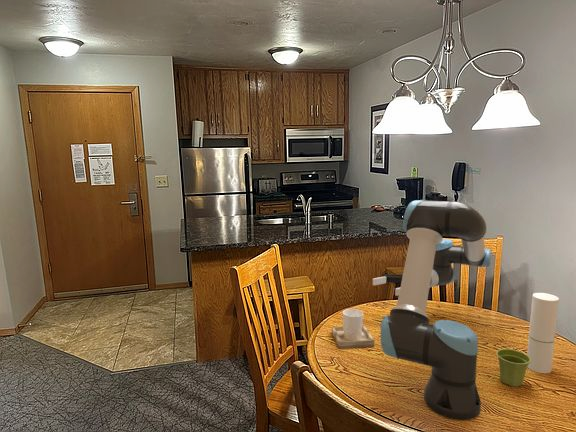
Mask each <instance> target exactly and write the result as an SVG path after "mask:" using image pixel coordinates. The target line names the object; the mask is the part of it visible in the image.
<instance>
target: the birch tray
mask: <svg viewBox="0 0 576 432" xmlns="http://www.w3.org/2000/svg"><path fill="white" fill-rule="evenodd" d="M331 333H332V336H333V338H334V340H335V342H336V345H337V346H338V348H339V350H344V349H358V348H369V347H370V348H371V347H375V339H374V338H373V336H372V335H371V333H370V332H369V330H368V329H367V327H366V325H365V324H363V325H362V334H361V339H360V340H354V341H351V340H347V339H345V338H344V330H343V325H342V326H341V325H339V326H331Z"/></svg>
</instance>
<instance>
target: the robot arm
mask: <svg viewBox="0 0 576 432" xmlns="http://www.w3.org/2000/svg"><path fill="white" fill-rule="evenodd" d="M402 227H403V228H402V229H403V232H405V233H406V237H407V238H408V239H409V243H408V247H407V252H406V253H407V254H406V258H405V263H404V268H403V273H393V274H391V273H389V274H386V273H385V274H382V276H381V277H379V276H378V277H375V278H372V286H379V285H383V284H384V285H385V284H387V283H392V284H393V283H394V284H400V287H396V288H395V291H394V295H395V296H396V297H397V298H398V299H397V303H396V305H395V306H393V308H391V309H390V312H389V315H388V314H387V315H384V316H383V317H382V320H381V322H380V323H381V324H380V344H381V345H380V346H381V350H382V352H383V353H384V354H385V355H386V356H388V357H392V358H395V359H396V360H403V361H406V362H412V363H415V364H419V365H423V366H427V367H431V375H430V377H429V379H428V381H427V383H426V386H425V388H424V391H423V400H424V403H425V405H426V406H427V407H428V408H429V409H430V410H431V411H432V412H434V413H435V414H437V415H439V416H441V417H444V418H447V419H449V420H450V419H451V420H455V421H469V420H472V419H475V418H477V417H478V416H479V415H480V413H481V408H482V402H481V397H480V395H479V391H478V387H477V383H476V380H477V377H476V376H477V362H478V361H477V360H478V353H479V348H478V346H479V343H478V342H479V338H478V335H477V333H476V332H475V331H474V330H473V329H472V328H470V327H469V326H467V325H466V324H463V323H460V322H458V321H455V320H450V319H445V320H444V319H440V320H439V319H438V320H436V321H435V322H434V323H433V324H430V318H429V316H428V315H427V313H426V310H427V305H428V297H429V291H430V288H433V287H439V286H446V285H449V284H452V283H454V282H455V281H456V279H457V277H458V276H457V272H456V269H455V268H454V267H453V266H452V264H456V265H465V266H471V267H479V268H489V267H491V261H492V260H491V259H492V250H491V249H489V248H486V247H485V235H486V233H487V223H486V220H485V219H484V217H483V215H481V214H480V212H478V210H476V209H475V208H473V206H470V205H469V204H466V203H464V202H463V203H462V202H459V201H446V200H445V201H443V200H427V199H420V200H419V199H418V200H417V199H416V200H412V201H411V202H409V203H408V205H407V207H406V209H405V211H404V215H403V221H402ZM444 237H453V238H454V237H455V238H460V240H461V245H456V244H454V243H453V240H451V239H447V238H444Z"/></svg>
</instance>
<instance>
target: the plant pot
mask: <svg viewBox="0 0 576 432" xmlns="http://www.w3.org/2000/svg"><path fill="white" fill-rule="evenodd" d="M495 353H496V357H497V360H498V365H499V378H500V381H501V382H502V383H504V384H505V385H506V384H507V385H509V386H510V387H516V388H517V387H521V386H522V385H523V384H524V379H525V377H526V376H525V375H526V371H527V369H528V368H527V366H528V365H529V363H530V362H531V358H530V357H529V356H528V355H527V354H526V353H524V352H522V351H519V350H516V349H511V348H501V349H498V350H497V351H496V352H495Z"/></svg>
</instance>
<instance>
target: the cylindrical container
mask: <svg viewBox="0 0 576 432" xmlns="http://www.w3.org/2000/svg"><path fill="white" fill-rule="evenodd" d="M531 298H532V299H531V307H530V308H531V309H530V319H529V320H530V321H529V331H528V342H527V351H526V353H527V354H526V355H528V356H529V357H530V358H531V362H530V363H529V365H528V366H527V367H528V368H529V369H528V368H527V369H528V370H530V369H531V370H533V371H532V372H534V371H536V372H540V373H549V374H551V373H552V371H551V370H553V369H552V368H553V359H554V350H555V340H556V331H557V322H558V313H559V312H558V311H559V301H560V299H559V297H558V296H556V295H554V294H550V293H546V292H534V293H533V294H532V297H531ZM531 370H530V371H531ZM536 372H535V373H536ZM550 372H551V373H550ZM540 373H539V374H540Z"/></svg>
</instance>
